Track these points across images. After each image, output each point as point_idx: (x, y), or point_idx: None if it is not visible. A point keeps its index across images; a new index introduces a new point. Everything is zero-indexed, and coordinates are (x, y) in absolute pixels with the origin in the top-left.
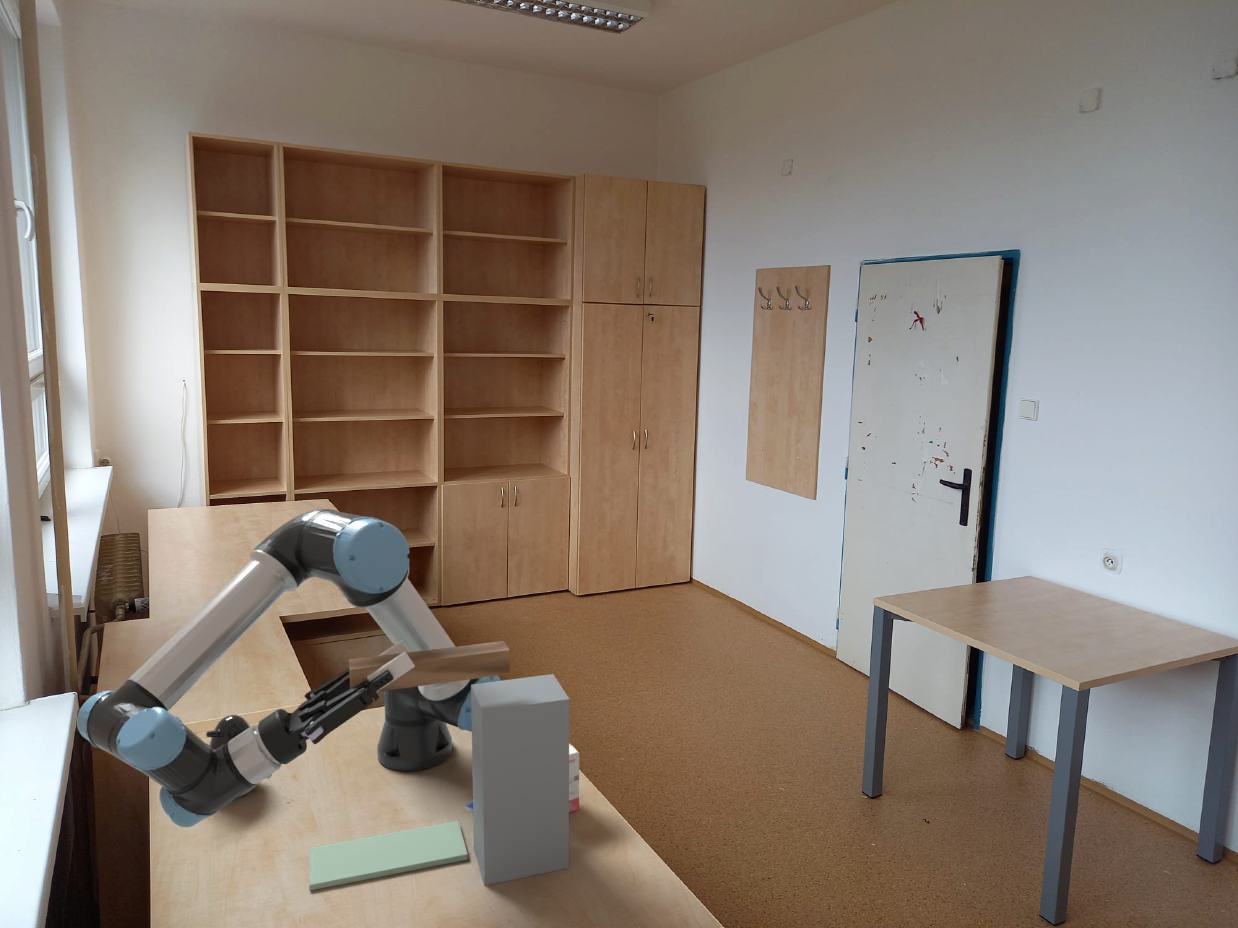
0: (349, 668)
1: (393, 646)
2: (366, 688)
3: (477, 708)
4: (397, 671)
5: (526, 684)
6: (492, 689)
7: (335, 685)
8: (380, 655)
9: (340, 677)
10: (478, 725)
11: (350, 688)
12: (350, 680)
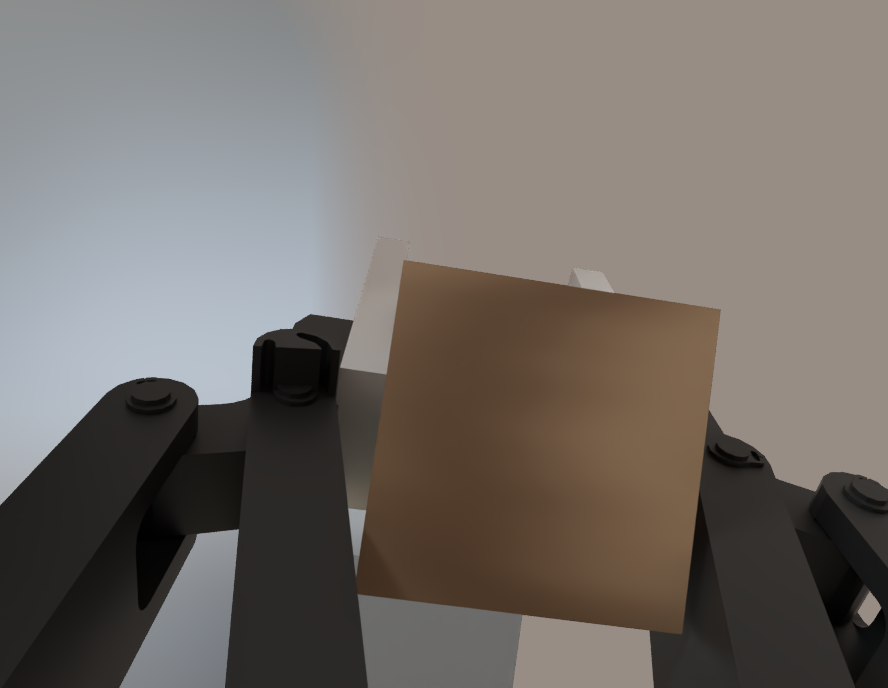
0: (553, 338)
1: (392, 261)
2: (784, 488)
3: (418, 603)
4: None
5: (355, 512)
6: (352, 537)
7: (289, 676)
8: (391, 304)
9: (85, 585)
10: (426, 672)
11: (565, 588)
12: (702, 446)
